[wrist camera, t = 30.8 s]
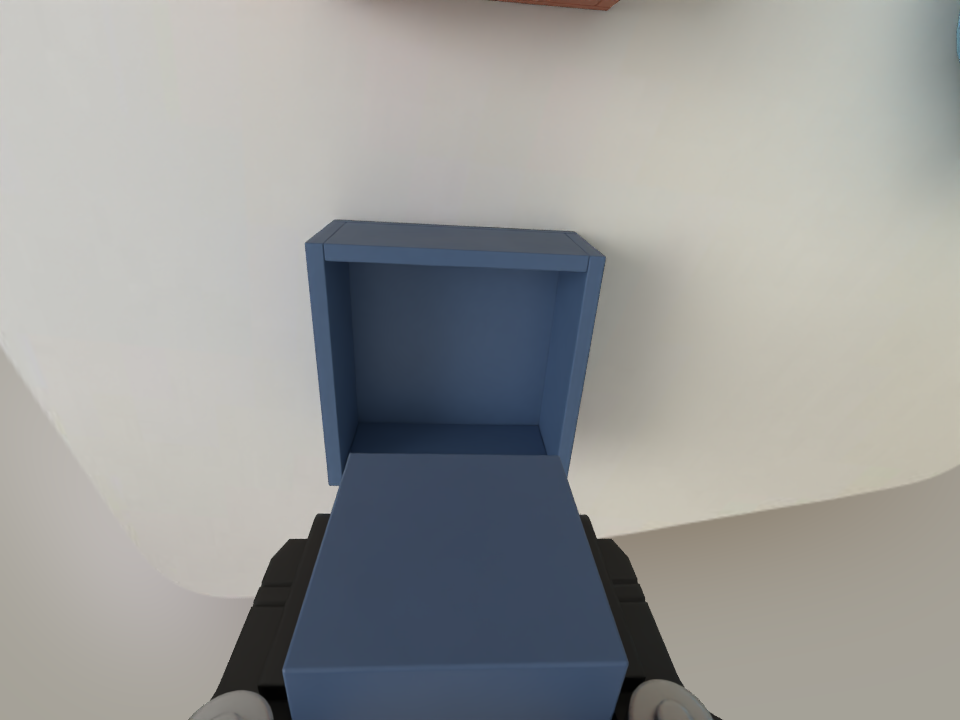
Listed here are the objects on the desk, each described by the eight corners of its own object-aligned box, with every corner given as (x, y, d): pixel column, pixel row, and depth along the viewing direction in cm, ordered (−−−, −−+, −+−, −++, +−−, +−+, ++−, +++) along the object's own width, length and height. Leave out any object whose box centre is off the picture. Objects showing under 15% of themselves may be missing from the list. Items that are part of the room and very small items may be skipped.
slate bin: (348, 426, 24) (328, 485, 20) (333, 219, 20) (304, 242, 16) (546, 429, 25) (566, 487, 21) (575, 231, 20) (606, 256, 16)
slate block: (360, 597, 12) (313, 838, 8) (348, 451, 10) (280, 671, 6) (537, 596, 12) (580, 826, 8) (560, 454, 10) (630, 664, 6)
